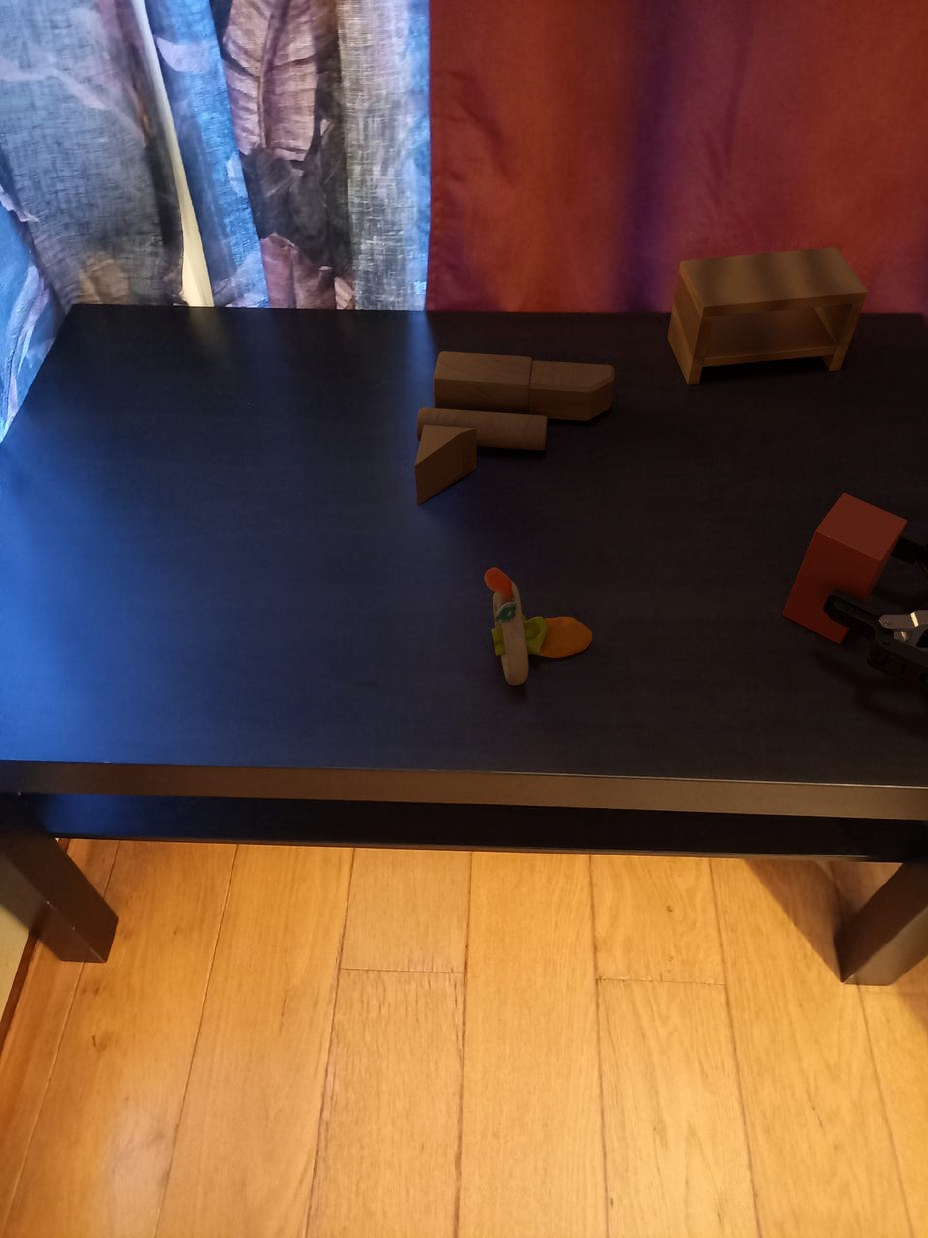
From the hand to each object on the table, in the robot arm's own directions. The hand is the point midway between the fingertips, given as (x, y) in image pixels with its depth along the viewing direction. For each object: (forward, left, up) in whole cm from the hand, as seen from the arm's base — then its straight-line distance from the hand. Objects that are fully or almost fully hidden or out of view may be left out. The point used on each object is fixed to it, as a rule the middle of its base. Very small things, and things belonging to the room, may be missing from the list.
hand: (851, 564), depth 72 cm
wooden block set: (+22, -23, -6) cm, 33 cm away
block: (0, 0, -6) cm, 6 cm away
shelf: (-5, -34, -6) cm, 35 cm away
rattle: (+24, +2, -6) cm, 25 cm away
